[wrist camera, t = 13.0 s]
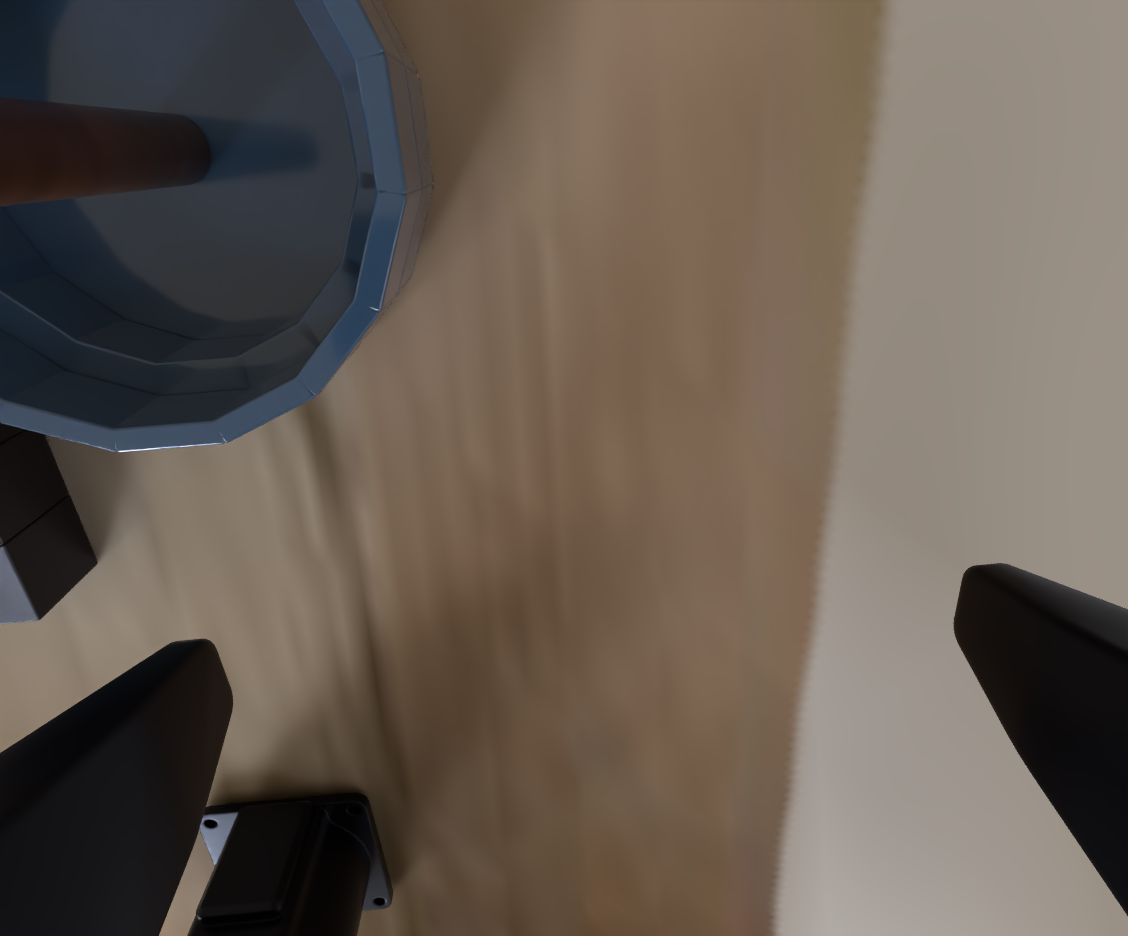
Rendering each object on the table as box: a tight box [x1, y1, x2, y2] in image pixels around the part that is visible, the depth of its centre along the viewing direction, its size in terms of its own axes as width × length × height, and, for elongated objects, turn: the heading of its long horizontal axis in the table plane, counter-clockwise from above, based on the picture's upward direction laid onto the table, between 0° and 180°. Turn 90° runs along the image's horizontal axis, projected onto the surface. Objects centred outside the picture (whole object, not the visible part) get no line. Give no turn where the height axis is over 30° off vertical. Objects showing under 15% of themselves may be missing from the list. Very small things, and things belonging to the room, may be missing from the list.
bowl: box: [0, 0, 434, 452], centre depth 15 cm, size 12×12×5 cm
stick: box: [0, 97, 210, 206], centre depth 12 cm, size 2×2×10 cm
